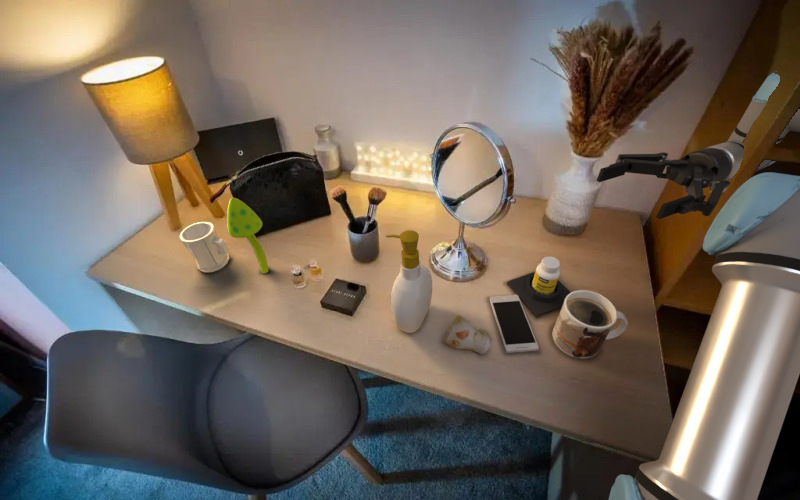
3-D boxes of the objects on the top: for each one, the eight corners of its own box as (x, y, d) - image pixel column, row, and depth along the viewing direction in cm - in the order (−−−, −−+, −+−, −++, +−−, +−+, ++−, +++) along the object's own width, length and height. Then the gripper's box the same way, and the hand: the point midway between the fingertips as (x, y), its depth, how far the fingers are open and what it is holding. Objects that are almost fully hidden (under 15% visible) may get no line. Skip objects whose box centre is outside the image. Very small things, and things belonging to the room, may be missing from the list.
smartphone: (517, 296, 88) (517, 294, 87) (538, 350, 76) (539, 348, 76) (488, 298, 88) (489, 296, 87) (506, 353, 76) (506, 351, 76)
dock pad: (577, 302, 86) (580, 294, 84) (536, 318, 83) (538, 310, 81) (545, 270, 94) (547, 262, 92) (506, 283, 91) (508, 275, 89)
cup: (234, 247, 109) (219, 216, 101) (237, 265, 102) (220, 234, 94) (198, 258, 106) (179, 227, 98) (199, 277, 99) (178, 246, 91)
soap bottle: (405, 291, 91) (399, 210, 74) (438, 300, 88) (440, 218, 71) (382, 335, 81) (369, 253, 64) (418, 347, 79) (415, 265, 61)
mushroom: (246, 282, 97) (208, 208, 80) (254, 261, 103) (220, 189, 86) (276, 280, 97) (244, 206, 80) (282, 259, 103) (254, 186, 86)
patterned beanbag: (488, 367, 74) (467, 343, 69) (452, 356, 81) (430, 334, 76) (500, 336, 78) (481, 311, 72) (464, 329, 85) (444, 306, 79)
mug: (564, 312, 84) (578, 280, 76) (618, 340, 77) (638, 309, 70) (544, 341, 78) (556, 309, 71) (599, 374, 72) (619, 343, 64)
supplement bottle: (530, 296, 86) (539, 268, 80) (530, 280, 90) (538, 252, 84) (554, 299, 85) (564, 271, 79) (552, 283, 89) (562, 255, 83)
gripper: (767, 214, 64) (681, 247, 59) (648, 157, 81) (574, 178, 76) (796, 178, 59) (705, 211, 53) (662, 125, 76) (584, 146, 71)
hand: (628, 192), depth 65 cm, fingers open, 13 cm apart
